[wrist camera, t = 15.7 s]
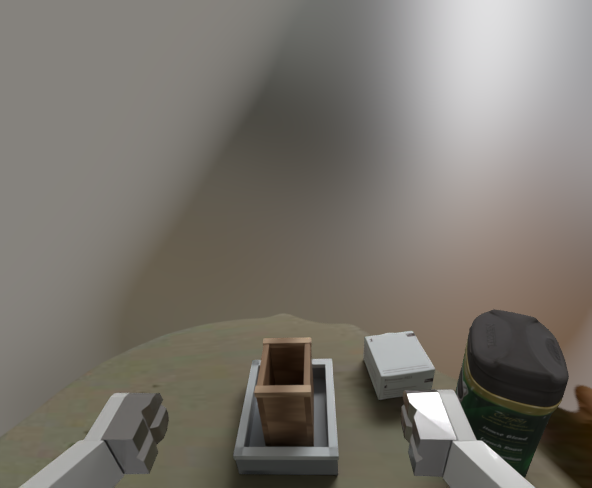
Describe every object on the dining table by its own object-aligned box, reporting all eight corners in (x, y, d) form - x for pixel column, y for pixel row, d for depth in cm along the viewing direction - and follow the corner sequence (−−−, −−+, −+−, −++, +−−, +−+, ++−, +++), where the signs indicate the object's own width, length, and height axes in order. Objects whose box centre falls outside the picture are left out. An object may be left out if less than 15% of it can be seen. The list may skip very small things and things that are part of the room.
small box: (378, 402, 46) (380, 376, 44) (362, 359, 53) (363, 335, 51) (432, 394, 47) (436, 369, 44) (409, 353, 54) (412, 329, 51)
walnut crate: (314, 389, 48) (311, 337, 43) (314, 447, 40) (310, 392, 36) (272, 390, 48) (263, 338, 43) (264, 447, 41) (254, 392, 36)
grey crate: (332, 377, 50) (331, 358, 48) (338, 475, 38) (338, 456, 36) (256, 378, 51) (252, 360, 49) (238, 475, 39) (233, 456, 37)
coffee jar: (526, 511, 34) (589, 390, 25) (443, 480, 37) (473, 362, 28) (514, 427, 42) (559, 311, 33) (446, 406, 45) (470, 296, 36)
